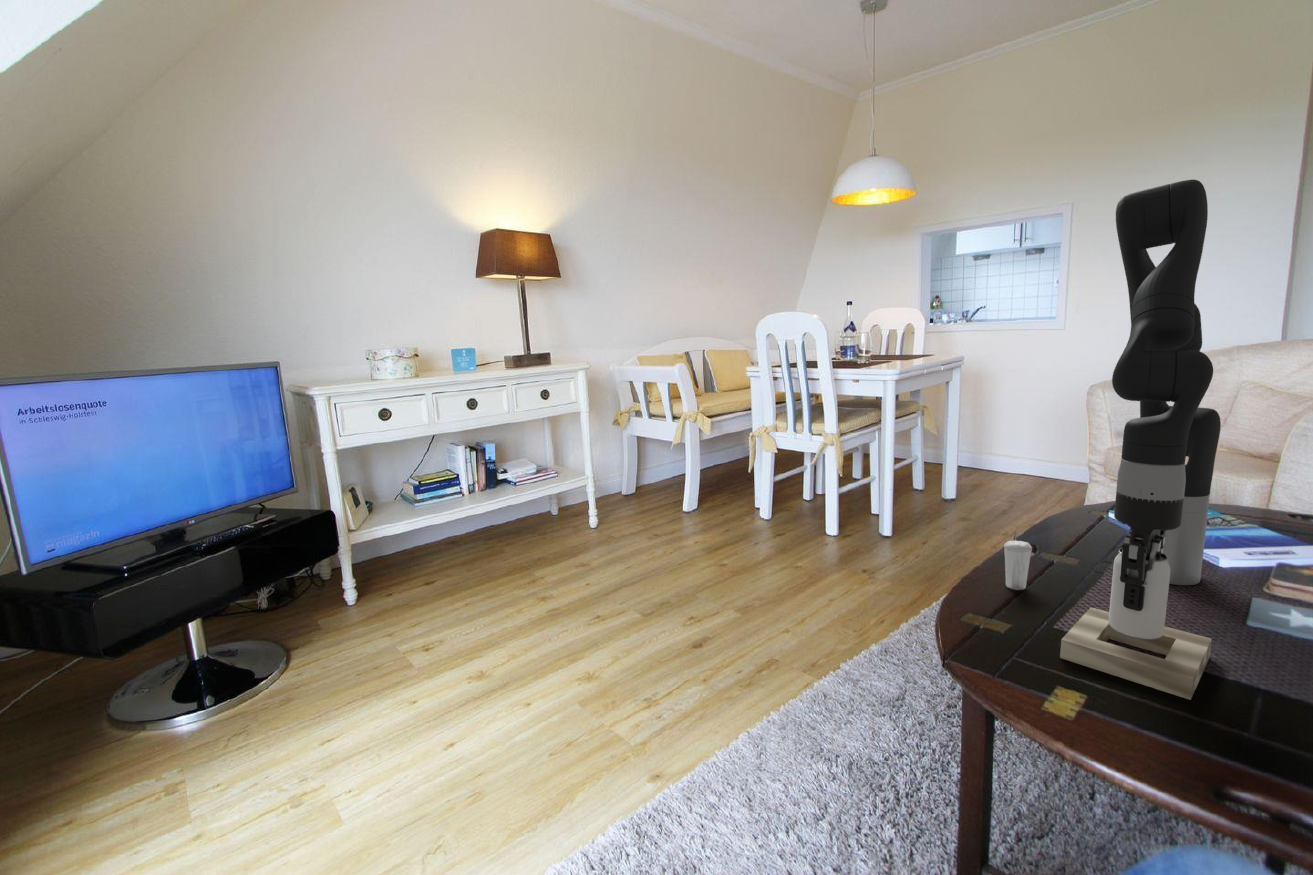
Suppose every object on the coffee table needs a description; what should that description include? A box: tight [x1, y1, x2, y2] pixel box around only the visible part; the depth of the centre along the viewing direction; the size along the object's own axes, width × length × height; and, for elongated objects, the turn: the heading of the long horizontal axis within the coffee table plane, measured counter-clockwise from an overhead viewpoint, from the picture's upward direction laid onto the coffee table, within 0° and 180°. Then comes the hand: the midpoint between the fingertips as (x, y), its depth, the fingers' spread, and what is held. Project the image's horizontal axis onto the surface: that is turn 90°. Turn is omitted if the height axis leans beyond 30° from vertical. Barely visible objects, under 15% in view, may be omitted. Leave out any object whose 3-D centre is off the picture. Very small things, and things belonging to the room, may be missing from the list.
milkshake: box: [1003, 531, 1033, 591], centre depth 116 cm, size 4×5×10 cm
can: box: [1108, 547, 1170, 640], centre depth 89 cm, size 6×6×12 cm
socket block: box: [1059, 607, 1213, 701], centre depth 90 cm, size 15×15×3 cm
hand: (1138, 600), depth 89 cm, fingers closed on can, 6 cm apart
